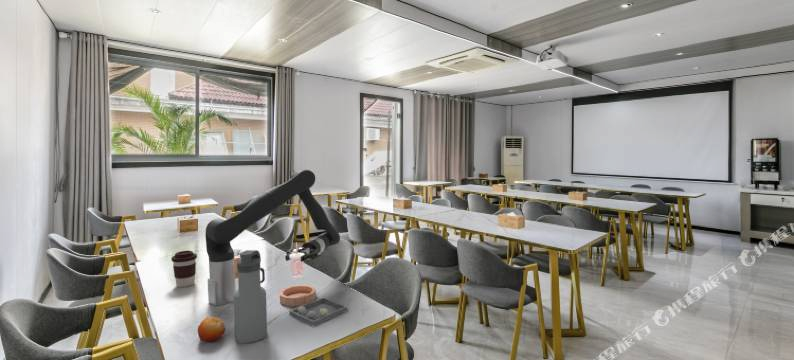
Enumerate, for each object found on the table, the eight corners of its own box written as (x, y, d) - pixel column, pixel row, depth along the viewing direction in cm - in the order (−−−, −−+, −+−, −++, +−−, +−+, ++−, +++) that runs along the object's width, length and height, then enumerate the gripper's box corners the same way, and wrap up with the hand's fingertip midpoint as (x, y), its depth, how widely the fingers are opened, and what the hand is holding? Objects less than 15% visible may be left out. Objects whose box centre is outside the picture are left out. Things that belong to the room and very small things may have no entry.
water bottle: (243, 328, 124) (240, 247, 122) (272, 328, 123) (269, 247, 121) (229, 344, 113) (225, 256, 111) (260, 344, 113) (257, 256, 111)
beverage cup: (286, 277, 147) (285, 243, 145) (296, 273, 152) (294, 240, 151) (299, 279, 144) (298, 245, 143) (308, 274, 150) (307, 241, 149)
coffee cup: (167, 287, 163) (166, 254, 162) (187, 279, 172) (186, 248, 171) (183, 290, 159) (181, 256, 158) (202, 282, 168) (201, 250, 167)
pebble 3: (323, 319, 130) (322, 310, 130) (317, 316, 132) (317, 308, 132) (329, 316, 133) (329, 308, 133) (324, 313, 135) (323, 306, 134)
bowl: (293, 309, 139) (293, 300, 139) (273, 299, 148) (272, 292, 148) (322, 297, 150) (322, 290, 150) (301, 289, 159) (301, 282, 158)
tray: (313, 325, 125) (313, 321, 125) (289, 314, 134) (289, 310, 134) (347, 310, 138) (347, 306, 138) (323, 301, 146) (323, 297, 146)
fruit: (198, 329, 120) (210, 309, 120) (220, 340, 121) (232, 320, 121) (186, 342, 112) (199, 320, 112) (209, 354, 113) (222, 332, 112)
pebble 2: (311, 321, 128) (311, 313, 128) (306, 319, 130) (305, 311, 130) (318, 318, 131) (317, 310, 130) (312, 316, 132) (312, 308, 132)
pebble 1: (300, 317, 132) (300, 309, 132) (295, 314, 134) (295, 306, 134) (307, 314, 134) (307, 306, 134) (302, 312, 136) (302, 304, 136)
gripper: (298, 238, 163) (277, 248, 147) (328, 240, 159) (310, 250, 143) (299, 255, 164) (278, 266, 147) (328, 256, 160) (310, 269, 144)
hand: (294, 258), depth 145 cm, fingers closed on beverage cup, 6 cm apart
